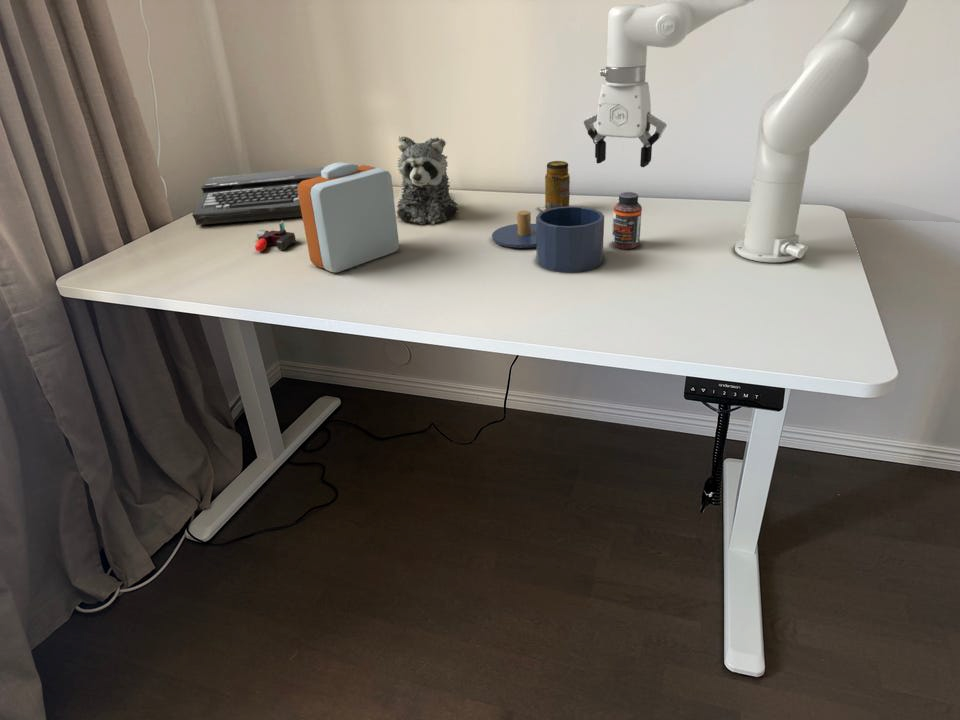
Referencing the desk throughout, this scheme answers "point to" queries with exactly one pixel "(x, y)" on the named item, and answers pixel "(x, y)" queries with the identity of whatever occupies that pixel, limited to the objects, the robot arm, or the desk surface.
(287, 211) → the vintage computer
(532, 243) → the tin lid
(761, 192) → the robot arm
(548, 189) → the condiment
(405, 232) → the desk surface
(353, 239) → the alarm clock
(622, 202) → the supplement bottle
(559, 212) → the tin
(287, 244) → the toy gun
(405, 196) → the raccoon plush
